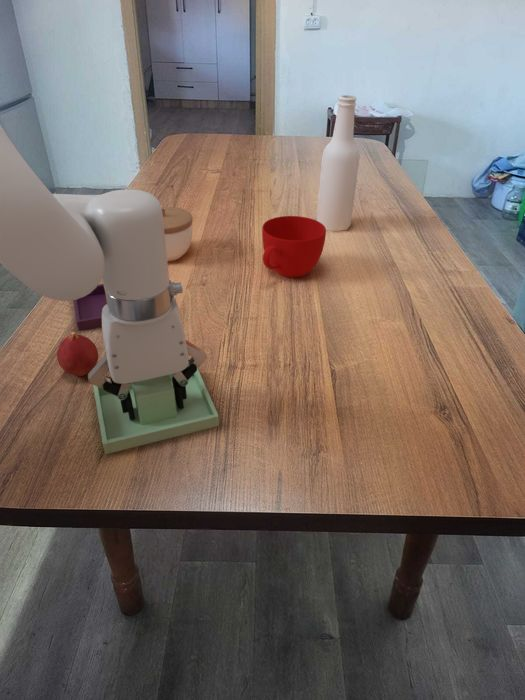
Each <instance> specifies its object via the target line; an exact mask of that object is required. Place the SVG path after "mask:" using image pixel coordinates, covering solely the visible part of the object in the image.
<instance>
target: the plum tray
mask: <svg viewBox="0 0 525 700" xmlns="http://www.w3.org/2000/svg"><path fill="white" fill-rule="evenodd" d="M106 304H107V300H106V295H105V290H104V285H103V283H99V284H98V286H97V287H96V288H95V289H94V290H93V291H92V292H91V293H89V294H88V295H86V296H84V297H82V298H79V299H77V300H73V306H74V313H75V321H76V326H77V329H78V331H79V332H82V331H87V330H93V329H99V328H102V309H103V307H104V306H105V305H106Z"/></svg>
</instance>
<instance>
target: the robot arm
mask: <svg viewBox="0 0 525 700" xmlns="http://www.w3.org/2000/svg"><path fill="white" fill-rule="evenodd" d="M161 207H162V205H161V203H160V201H159V199H158V198H157V197H156V196H155V195H153V194H152V193H151V192H148V191H144V190H139V189H130V188H129V189H127V188H124V189H117V190H116V189H115V190H110V191H108V192H105V193H102V194H72V193H52V192H51V191H50V190H49V188H48V187H47V186H46V185H45V184H44V183H43V181H42V180H41V179H40V178H39V177H38V175H37V174H36V173H35V172H34V170H33V169H32V168H31V167H30V165H29V164H28V163H27V162H26V160H25V159H24V158H23V156H22V155H21V154H20V152H19V151H18V150H17V147H15V145H14V144H13V142H12V141H11V139H10V137H9V136H8V134H7V133H6V131H5V130H4V127H3V125H2V124H1V123H0V264H1V265H2V266H3V267H4V269H6V270H7V271H8V272H9V273H11V274H12V275H13V277H15V278H16V279H17V280H19V281H20V282H21V283H22V284H24V286H26V287H27V288H29V289H30V290H32V291H33V292H34V293H36V294H39V295H40V296H42V297H44V298H48V299H51V300H54V301H60V302H71V301H74V300H77V299H79V298H82V297H84V296H86V295H88V294H89V293H91V292H92V291H93V290H94V289H95V288H96V287H97V286H98V285H100V284H101V281H102V284H103V285H104V290H105V295H106V300H107V304H106V305H105V306H104V307H103V309H102V327H101V332H102V340H103V348H104V353H105V354H104V355H103V356H102V357H101V358H100V360H98V361H97V363H96V365H95V367H94V368H93V369H92V370H91V371H90V372H89V373H87V379H88V383H89V384H91V385H92V386H93V385H95V386H97V387H101V388H103V389H104V390H105V391H107V392H109V393H111V394H113V395H116V396H117V397H118V399H119V400H120V401H121V406H122V411H123V413H127V412H128V414H129V418H130V421H132V420H134V419H135V415H134V410H133V404H132V399H131V395H130V391H129V389H130V386H131V383H132V382H136V381H142V380H146V379H151V378H156V377H160V376H165V375H169V374H172V375H173V377H172V382H173V388H174V394H175V400H176V403H177V406H178V409H179V408H180V409H183V408H184V406H183V400H184V399H187V395H186V385H187V384H188V380H189V379H190V378H191V376H192V375H193V374H194V373H195V372H196V371H197V368H198V369H199V367H201V366H202V364H203V363H204V362H205V361H206V360H207V358H208V356H207V353H206V351H205V350H204V349H202V348H201V347H199V346H198V345H196V344H194V343H192V342H190V341H188V340H187V339H186V334H185V328H184V324H183V319H182V315H181V312H180V308H179V305H178V302H177V300H176V297H175V296H178V295H179V294H183V292H184V291H183V285H182V283H181V282H172V280H170V272H169V264H168V263H169V262H168V261H167V253H166V243H165V233H164V223H163V214H162V208H161ZM189 356H190V359H189ZM108 372H109V375H110V376H106V374H107V373H108Z"/></svg>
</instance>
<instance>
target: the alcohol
mask: <svg viewBox="0 0 525 700" xmlns="http://www.w3.org/2000/svg"><path fill="white" fill-rule="evenodd" d="M337 99H338V102H337V110H336V116H335V121H334V127H333V133H332V137H331V139H330V141H329V142H327V144H326V146H325V147H324V148H323V151H322V155H321V163H320V175H319V185H318V197H317V207H316V219H315V220H316V221H318V222H320V223H322V224H323V225H324V226H325V228H326V231H330V232H343V231H347V230H348V229H349V228H350V226H351V224H352V217H353V210H354V202H355V195H356V187H357V182H358V181H357V180H358V173H359V165H360V149H359V148H358V145H357V144H356V142H355V139H354V133H355V132H354V130H355V113H356V112H355V111H356V106H357V97H356V96H354V95H350V94H349V95H347V94H342V95H339V96H338V97H337Z"/></svg>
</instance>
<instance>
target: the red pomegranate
mask: <svg viewBox="0 0 525 700" xmlns="http://www.w3.org/2000/svg"><path fill="white" fill-rule="evenodd" d="M56 359H57V363H58V365H59V367H60V368H61V369H62V370H63V371H65V372H66V373H67V374H70V375H72V376H79V377H83V376H86V375H88V374H89V372H90V371H91V370H92V369H93V368H94V367H95V366H96V364H97V363H98V362H99V350H98V347H97V345H96V344H95V343H94V342H93V341H92V340H91V339H90V338H88V337H87V336H84V335H82V334H78V333H77V331H72V332H71V333H70V334H69V335H68V336H66V337H65V338H64V339H63V340H62V341H61V342H60V343H59V346H58V349H57V351H56Z"/></svg>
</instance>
